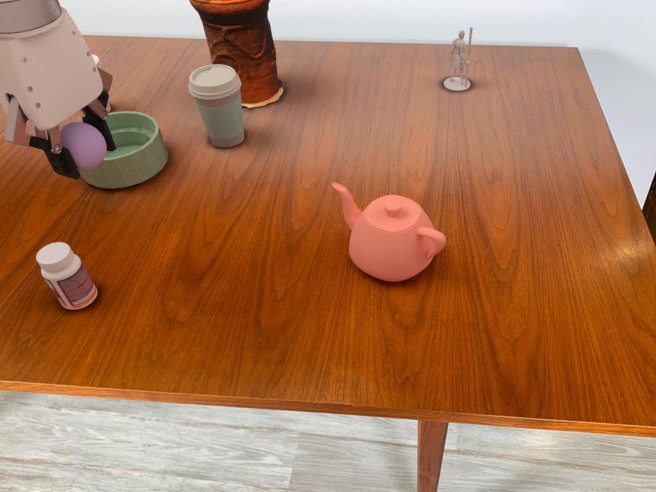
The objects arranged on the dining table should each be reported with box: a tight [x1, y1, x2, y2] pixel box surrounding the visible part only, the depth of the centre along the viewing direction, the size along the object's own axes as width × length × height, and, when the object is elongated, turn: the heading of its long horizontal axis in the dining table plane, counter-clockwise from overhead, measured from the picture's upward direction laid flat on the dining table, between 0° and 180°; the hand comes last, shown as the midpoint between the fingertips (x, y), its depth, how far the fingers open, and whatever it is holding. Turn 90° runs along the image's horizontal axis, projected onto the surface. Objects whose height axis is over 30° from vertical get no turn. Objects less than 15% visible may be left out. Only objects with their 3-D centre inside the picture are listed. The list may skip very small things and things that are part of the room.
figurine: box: [443, 26, 474, 92], centre depth 111 cm, size 5×5×12 cm
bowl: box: [79, 110, 169, 189], centre depth 96 cm, size 14×14×6 cm
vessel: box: [188, 0, 284, 109], centre depth 107 cm, size 14×14×20 cm
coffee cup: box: [188, 64, 245, 148], centre depth 99 cm, size 9×8×12 cm
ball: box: [59, 121, 107, 170], centre depth 69 cm, size 6×6×6 cm
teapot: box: [331, 182, 447, 283], centre depth 80 cm, size 12×18×10 cm
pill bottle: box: [35, 241, 98, 311], centre depth 75 cm, size 5×5×8 cm
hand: (87, 160), depth 70 cm, fingers closed on ball, 5 cm apart
